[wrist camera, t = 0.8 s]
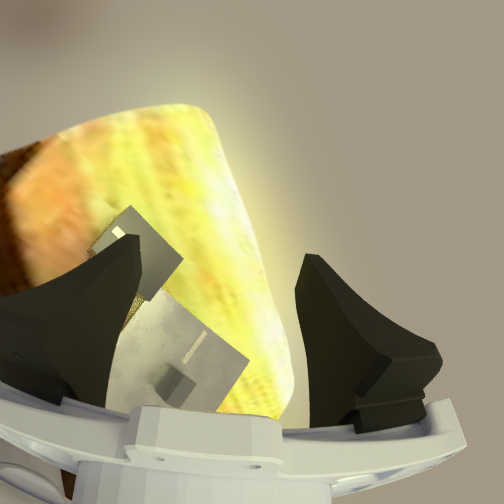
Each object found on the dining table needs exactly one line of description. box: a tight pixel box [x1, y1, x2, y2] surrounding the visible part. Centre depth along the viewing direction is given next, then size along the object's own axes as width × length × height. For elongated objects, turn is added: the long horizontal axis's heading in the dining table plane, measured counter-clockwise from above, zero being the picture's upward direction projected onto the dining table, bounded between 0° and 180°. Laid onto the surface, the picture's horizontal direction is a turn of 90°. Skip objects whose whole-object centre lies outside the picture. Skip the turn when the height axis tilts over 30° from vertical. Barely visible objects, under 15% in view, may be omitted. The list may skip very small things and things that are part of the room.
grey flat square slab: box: [105, 288, 250, 414], centre depth 25 cm, size 14×14×3 cm
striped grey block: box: [87, 205, 183, 302], centre depth 22 cm, size 6×4×5 cm
